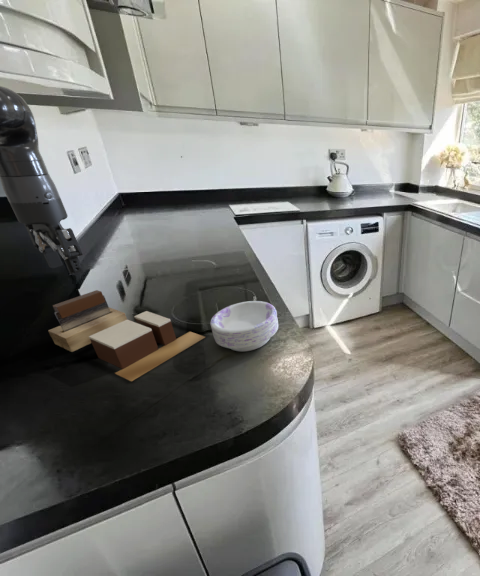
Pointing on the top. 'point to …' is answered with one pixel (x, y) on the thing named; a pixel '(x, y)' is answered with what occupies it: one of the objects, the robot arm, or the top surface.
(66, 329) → the cake cutter
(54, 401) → the top surface
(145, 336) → the loaf cake
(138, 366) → the cutting board
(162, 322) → the cake slice
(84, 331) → the knife block
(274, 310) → the paper bowls
